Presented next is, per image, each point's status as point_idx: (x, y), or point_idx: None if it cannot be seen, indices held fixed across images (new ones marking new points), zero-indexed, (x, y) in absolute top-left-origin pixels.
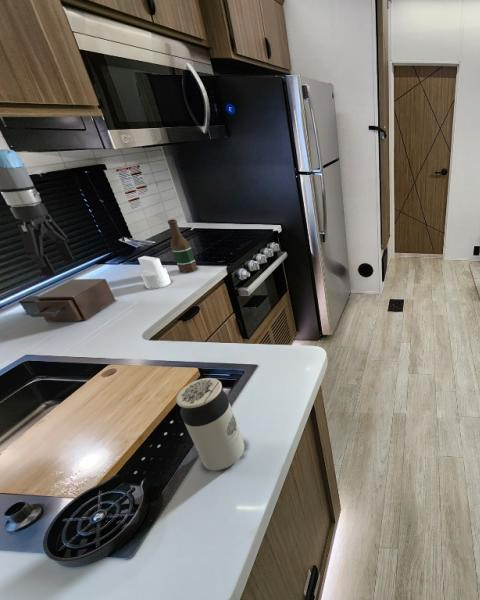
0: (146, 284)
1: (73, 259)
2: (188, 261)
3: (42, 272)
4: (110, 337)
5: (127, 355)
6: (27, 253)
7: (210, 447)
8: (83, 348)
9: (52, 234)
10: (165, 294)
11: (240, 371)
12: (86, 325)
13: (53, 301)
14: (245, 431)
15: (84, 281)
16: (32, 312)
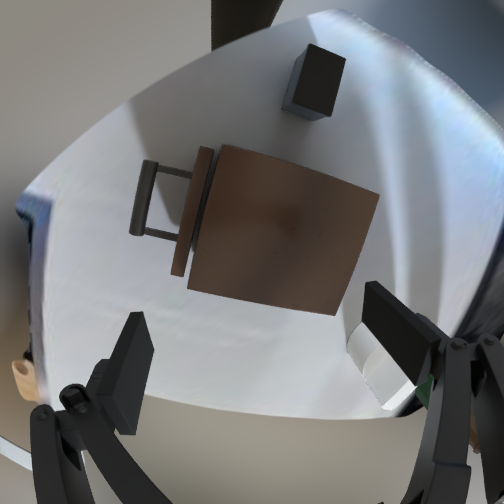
0: (362, 333)
1: (365, 322)
2: (416, 393)
3: (125, 324)
4: (100, 343)
5: (53, 380)
6: (34, 432)
7: None
8: (65, 310)
9: (424, 448)
10: (298, 377)
11: None
12: (162, 269)
13: (183, 220)
14: (5, 447)
15: (338, 255)
16: (292, 73)
